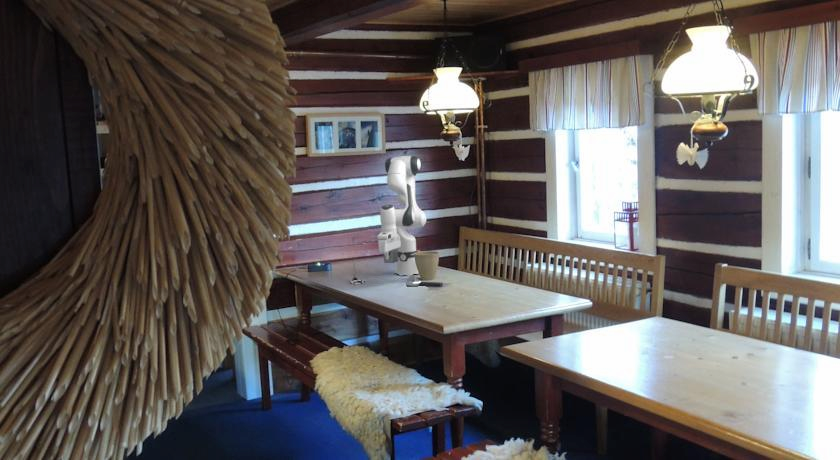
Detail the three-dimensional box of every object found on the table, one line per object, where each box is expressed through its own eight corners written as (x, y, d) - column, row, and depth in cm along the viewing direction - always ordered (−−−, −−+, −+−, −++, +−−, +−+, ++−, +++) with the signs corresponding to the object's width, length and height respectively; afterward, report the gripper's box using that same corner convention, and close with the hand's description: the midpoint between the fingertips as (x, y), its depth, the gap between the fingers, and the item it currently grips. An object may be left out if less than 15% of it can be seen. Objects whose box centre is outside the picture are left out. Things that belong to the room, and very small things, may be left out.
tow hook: (367, 283, 458) (361, 280, 467) (366, 262, 456) (360, 259, 464) (354, 285, 455) (347, 282, 463) (353, 264, 453) (346, 261, 461)
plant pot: (440, 281, 450) (439, 254, 448) (414, 282, 450) (413, 255, 449) (440, 276, 465) (439, 250, 463) (415, 278, 465) (414, 251, 463)
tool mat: (411, 282, 452) (410, 281, 451) (452, 284, 440) (452, 283, 440) (394, 289, 434) (394, 288, 434) (437, 291, 422) (437, 290, 422)
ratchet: (403, 286, 438) (402, 276, 437) (410, 283, 445) (409, 273, 445) (438, 288, 428) (437, 277, 427) (444, 285, 436) (444, 274, 435)
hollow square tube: (389, 260, 453) (388, 248, 452) (398, 261, 451) (397, 249, 450) (384, 262, 448) (383, 250, 447) (393, 263, 445) (392, 250, 444)
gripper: (393, 230, 458) (394, 254, 460) (375, 236, 439) (377, 261, 442) (402, 231, 455) (404, 254, 457) (385, 237, 437) (387, 261, 439)
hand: (390, 257), depth 449 cm, fingers closed on hollow square tube, 6 cm apart
